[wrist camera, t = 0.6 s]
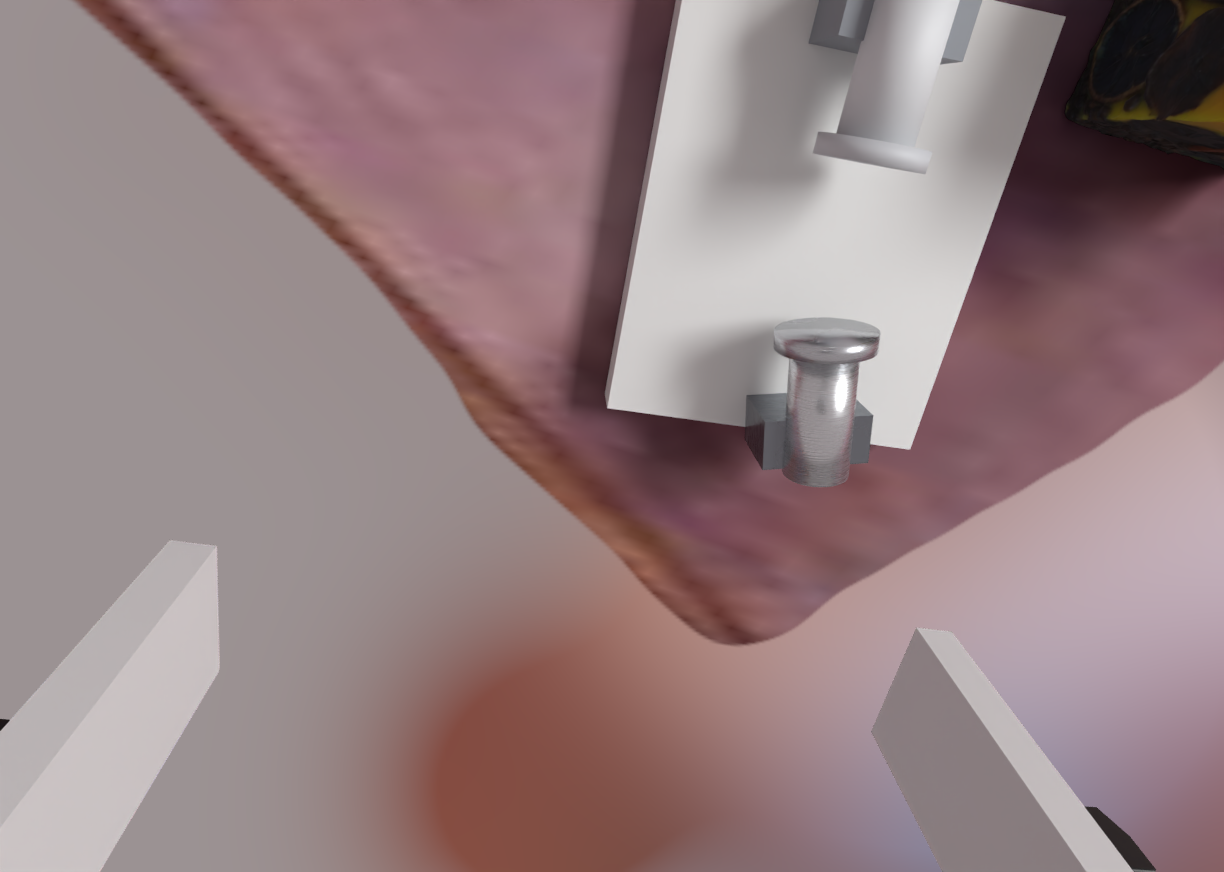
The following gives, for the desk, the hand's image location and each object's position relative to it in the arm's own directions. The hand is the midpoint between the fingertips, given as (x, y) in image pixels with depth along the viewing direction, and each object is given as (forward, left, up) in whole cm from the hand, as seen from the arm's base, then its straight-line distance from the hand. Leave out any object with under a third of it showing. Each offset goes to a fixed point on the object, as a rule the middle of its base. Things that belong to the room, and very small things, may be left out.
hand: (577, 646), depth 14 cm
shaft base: (-6, +11, -25) cm, 27 cm away
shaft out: (+1, +12, -22) cm, 25 cm away
